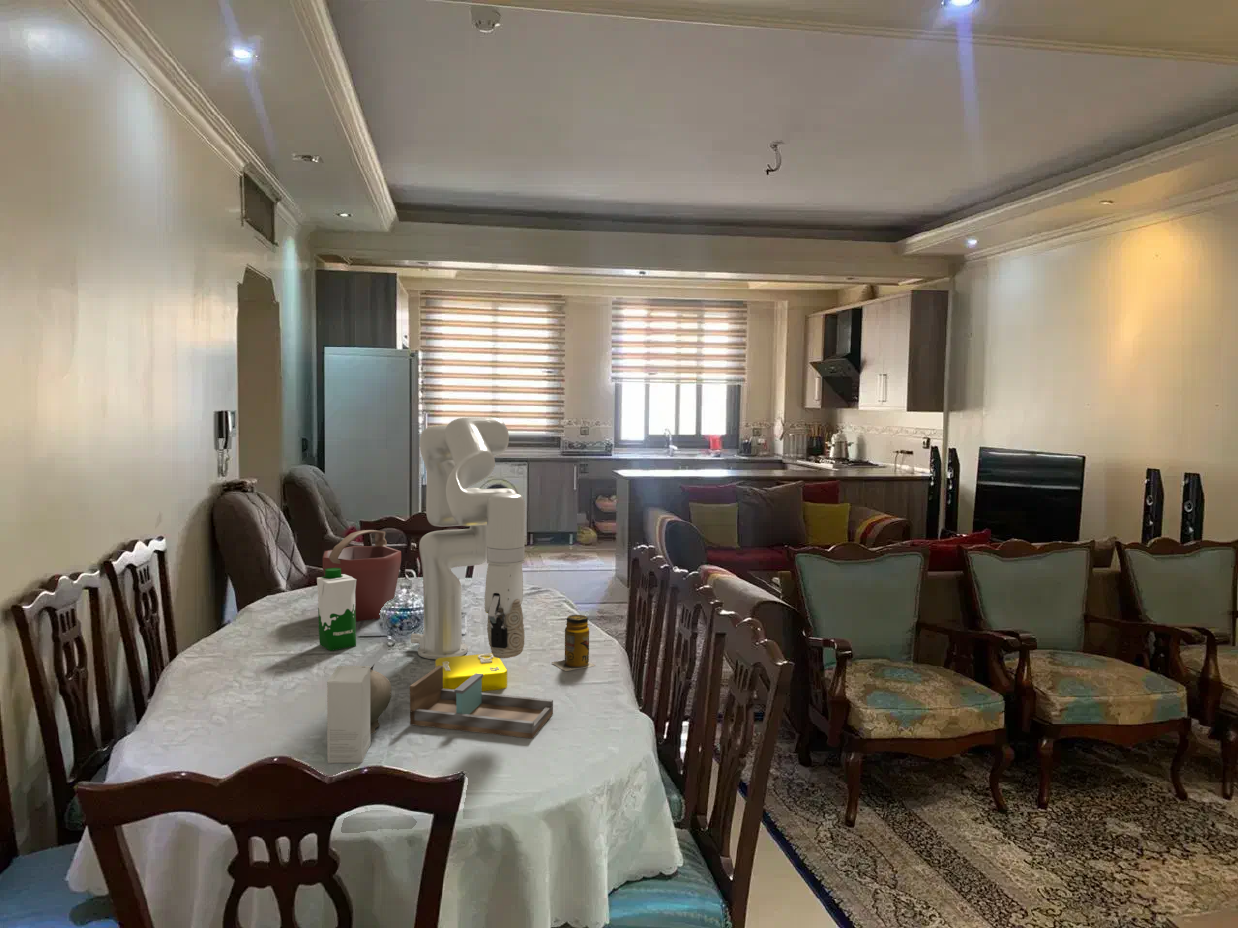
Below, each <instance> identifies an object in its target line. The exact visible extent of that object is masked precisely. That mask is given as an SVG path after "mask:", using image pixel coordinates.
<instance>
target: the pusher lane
mask: <svg viewBox="0 0 1238 928" xmlns="http://www.w3.org/2000/svg"><path fill="white" fill-rule="evenodd" d="M553 714H554V699H547V698H538V697H528V696H518V695H508V694H507V695H506V694H499V693H490V692H482V703H481V704H480V705H479V706H478V707H477V708H476V709H474V710H473V711H472V712H471V713H470V714H460V713H456V693H454V690H452V689H443V666H437V667H436V668H435V667H434V668H433V669H431V670H430V671H429V672H427V673H426V674H425V675H423V676H422V677H420V678H419V679H417V680H416V681H415V682H413V683H412V684H410V685H409V725H412V726H420V727H430V728H438V729H447V730H455V731H462V732H463V731H465V732H474V733H480V734H489V735H490V734H491V735H499V736H508V737H515V738H516V737H517V738H523V739H524V738H525V739H533V738H534V737H535V736H536V735H537V733H538V732H539V731H540V730H541V729H542V728H543V726H545V724H546V723H547V721H548V720H549V719H550V718H551V717H552V716H553Z"/></svg>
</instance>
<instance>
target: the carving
mask: <svg viewBox="0 0 1238 928" xmlns="http://www.w3.org/2000/svg"><path fill="white" fill-rule="evenodd" d="M498 612H502V613H503V609H498ZM498 618H500V619H501V621H502V616H498ZM524 624H525V623H524V614H523V607H522V604H521V603H520V600H519V599H517V600H515V601H514V602H513V605H512V608H511V612H510V613H508V614H507V620H506V627H505V628H507V647H506V648H494V647H492V646H491V623H490V619H489V617H488V616H487V625H486V626H487V628H486V630H487V639H488V645H489V647H490V651H491V652H490V653H492V654H493V656H494V657H496V658H500V659H511V658H515V657H517V656H519V655H521V654H522V653H523V651H524V647H525V638H526V636H525V625H524Z"/></svg>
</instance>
